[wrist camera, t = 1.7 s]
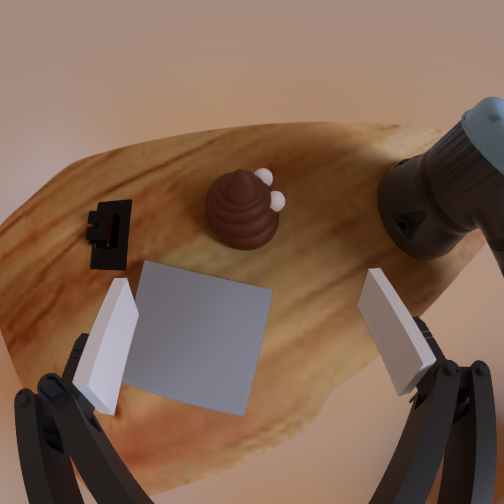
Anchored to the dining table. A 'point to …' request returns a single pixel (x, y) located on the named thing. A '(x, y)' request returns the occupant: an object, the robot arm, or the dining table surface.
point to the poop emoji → (244, 208)
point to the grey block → (196, 337)
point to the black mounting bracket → (109, 234)
